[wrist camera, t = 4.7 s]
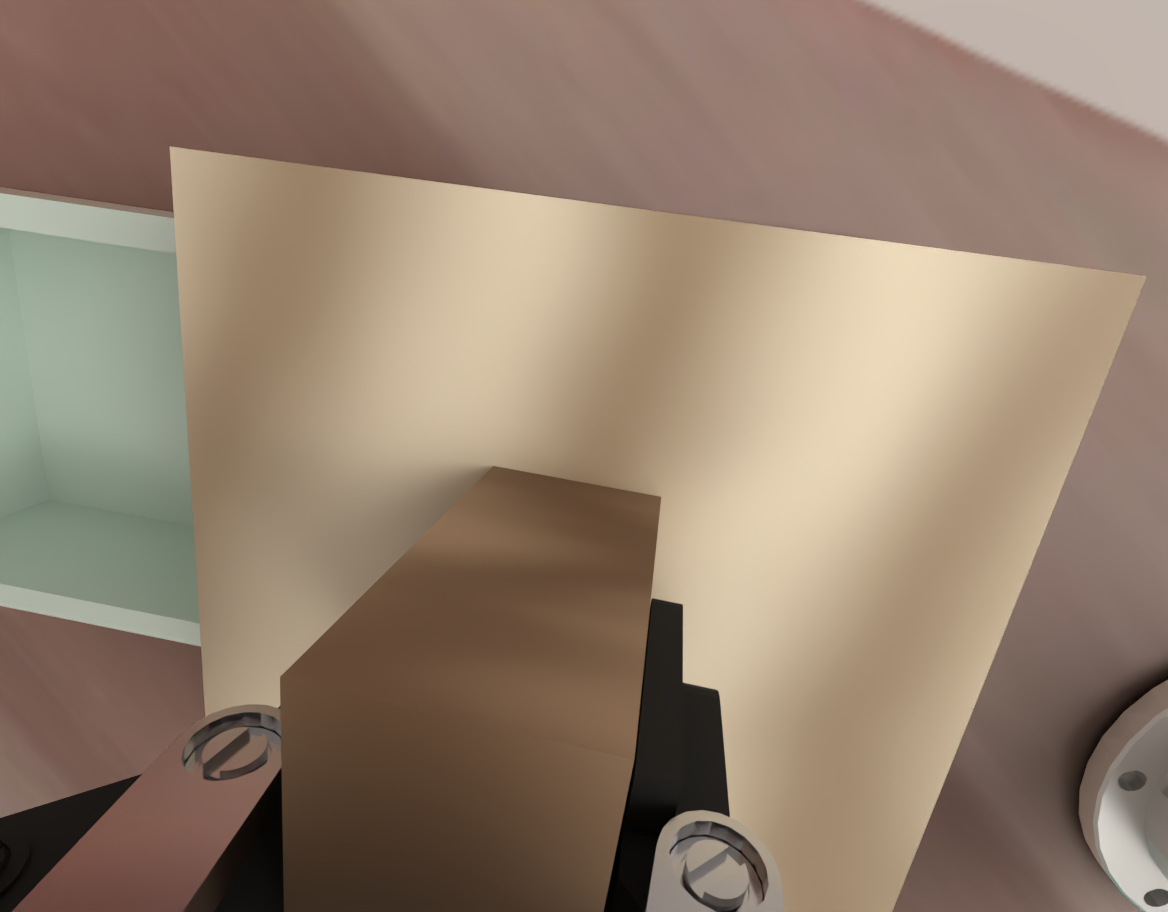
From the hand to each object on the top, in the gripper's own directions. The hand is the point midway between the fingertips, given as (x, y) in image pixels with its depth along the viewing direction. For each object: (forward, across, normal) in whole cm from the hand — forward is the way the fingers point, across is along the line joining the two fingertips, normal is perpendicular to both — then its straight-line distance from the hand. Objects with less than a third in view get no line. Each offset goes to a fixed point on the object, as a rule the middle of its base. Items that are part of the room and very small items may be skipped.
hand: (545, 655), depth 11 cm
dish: (+11, +16, 0) cm, 19 cm away
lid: (+2, 0, 0) cm, 2 cm away
